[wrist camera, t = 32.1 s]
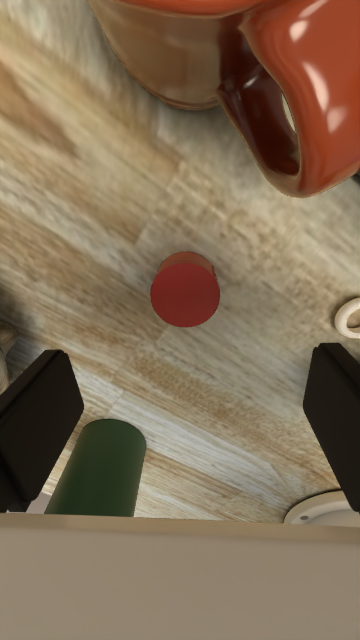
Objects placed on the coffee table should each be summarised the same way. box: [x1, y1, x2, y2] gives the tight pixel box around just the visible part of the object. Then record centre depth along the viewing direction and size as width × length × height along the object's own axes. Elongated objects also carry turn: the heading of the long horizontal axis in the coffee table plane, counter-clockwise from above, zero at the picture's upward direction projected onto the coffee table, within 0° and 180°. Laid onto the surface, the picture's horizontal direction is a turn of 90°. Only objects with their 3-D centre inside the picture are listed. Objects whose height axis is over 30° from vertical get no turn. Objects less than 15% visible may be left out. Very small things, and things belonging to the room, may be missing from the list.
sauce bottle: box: [44, 419, 146, 517], centre depth 17 cm, size 6×6×18 cm
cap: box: [150, 252, 220, 327], centre depth 15 cm, size 4×4×3 cm
